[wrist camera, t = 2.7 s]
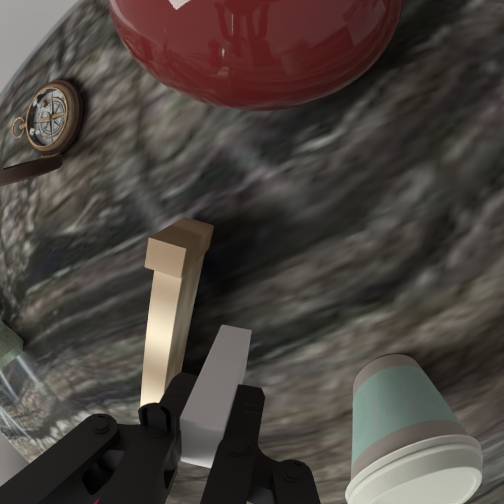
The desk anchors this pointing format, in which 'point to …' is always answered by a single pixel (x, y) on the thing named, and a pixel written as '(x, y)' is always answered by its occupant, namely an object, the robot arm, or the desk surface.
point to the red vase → (256, 46)
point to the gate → (171, 300)
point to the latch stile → (8, 344)
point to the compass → (48, 129)
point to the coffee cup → (408, 440)
